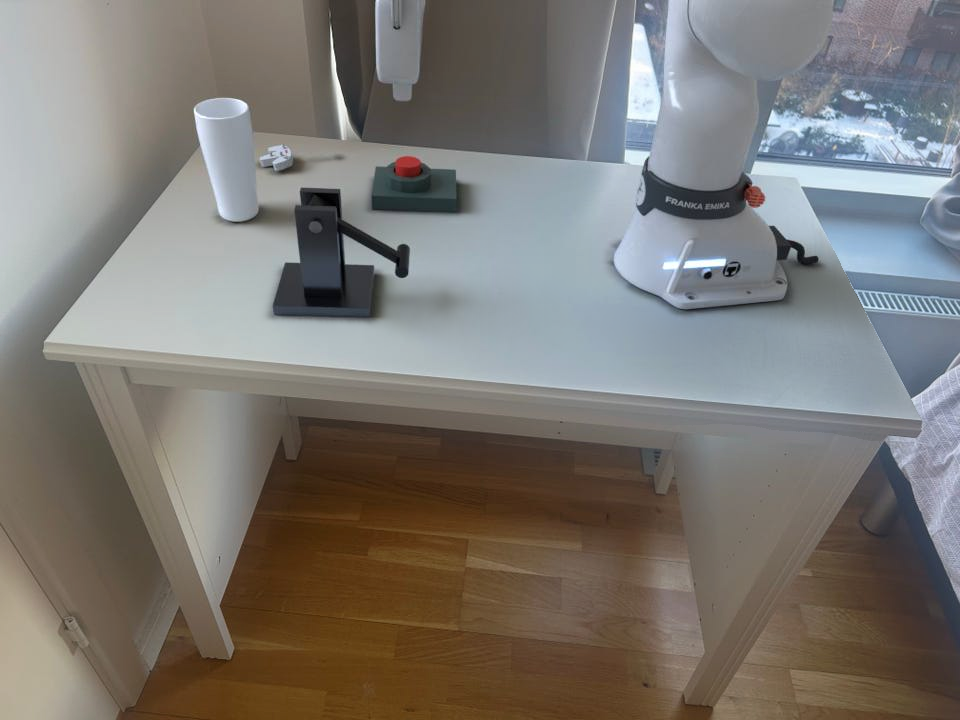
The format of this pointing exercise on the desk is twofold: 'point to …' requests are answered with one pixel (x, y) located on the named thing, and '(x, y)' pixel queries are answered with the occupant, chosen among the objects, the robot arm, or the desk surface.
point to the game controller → (278, 157)
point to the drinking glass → (229, 155)
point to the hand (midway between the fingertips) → (403, 95)
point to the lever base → (322, 265)
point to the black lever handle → (372, 242)
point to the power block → (414, 190)
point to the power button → (408, 166)
